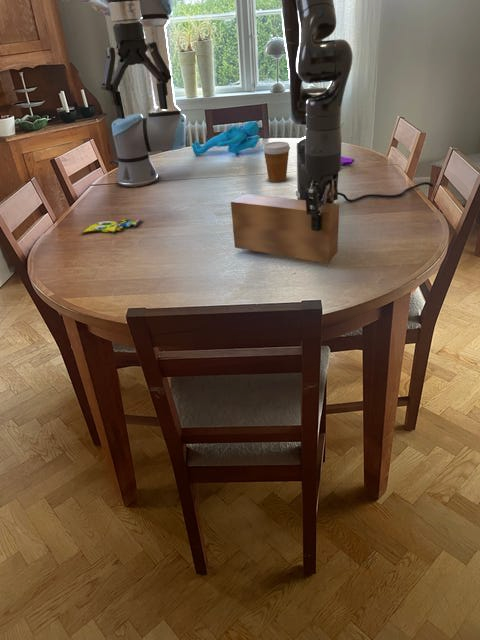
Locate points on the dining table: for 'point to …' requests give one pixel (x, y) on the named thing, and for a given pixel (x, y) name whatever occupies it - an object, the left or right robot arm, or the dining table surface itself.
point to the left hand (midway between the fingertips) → (143, 113)
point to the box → (284, 227)
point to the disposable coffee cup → (276, 160)
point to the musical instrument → (346, 161)
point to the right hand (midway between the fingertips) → (321, 224)
